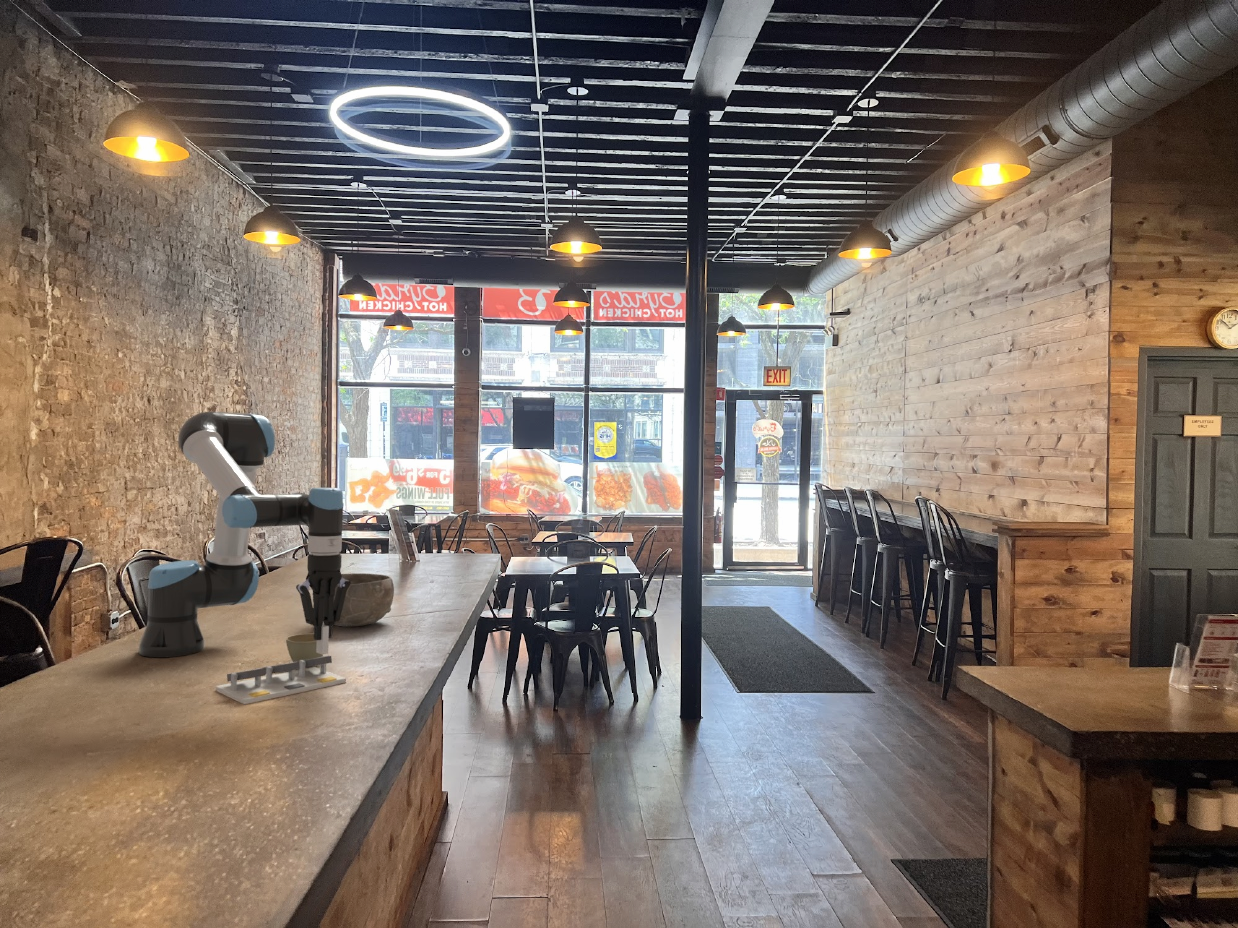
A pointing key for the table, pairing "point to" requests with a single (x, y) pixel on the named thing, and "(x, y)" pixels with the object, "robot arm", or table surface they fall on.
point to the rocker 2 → (284, 667)
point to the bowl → (366, 599)
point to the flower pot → (302, 647)
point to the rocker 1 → (248, 674)
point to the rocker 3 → (317, 661)
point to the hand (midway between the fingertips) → (322, 652)
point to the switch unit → (279, 683)
